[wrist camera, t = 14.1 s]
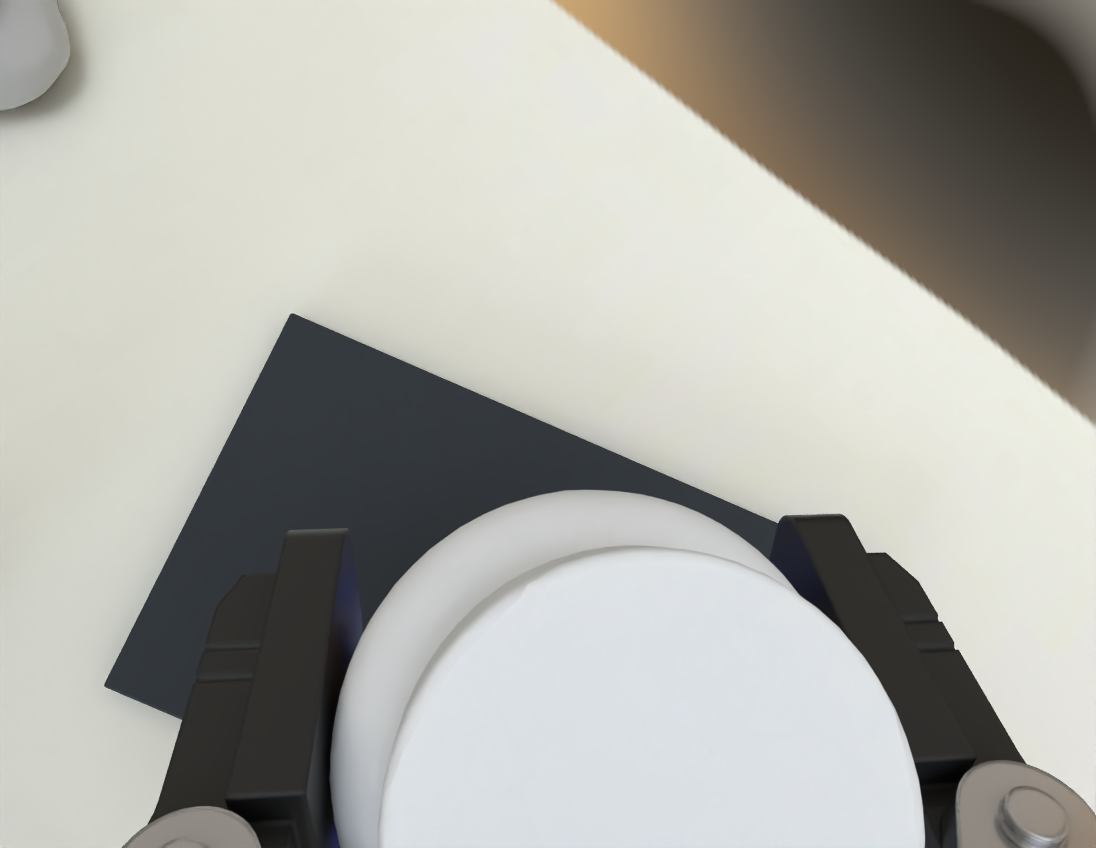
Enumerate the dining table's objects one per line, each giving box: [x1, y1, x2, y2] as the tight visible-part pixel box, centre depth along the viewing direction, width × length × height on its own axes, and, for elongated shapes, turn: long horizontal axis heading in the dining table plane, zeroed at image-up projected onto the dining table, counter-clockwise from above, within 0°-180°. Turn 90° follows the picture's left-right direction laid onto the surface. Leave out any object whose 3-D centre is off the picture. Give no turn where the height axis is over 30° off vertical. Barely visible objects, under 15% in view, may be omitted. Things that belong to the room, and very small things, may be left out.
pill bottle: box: [329, 490, 925, 848], centre depth 11 cm, size 5×5×10 cm
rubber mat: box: [104, 314, 778, 720], centre depth 26 cm, size 20×12×1 cm, turn 67°
